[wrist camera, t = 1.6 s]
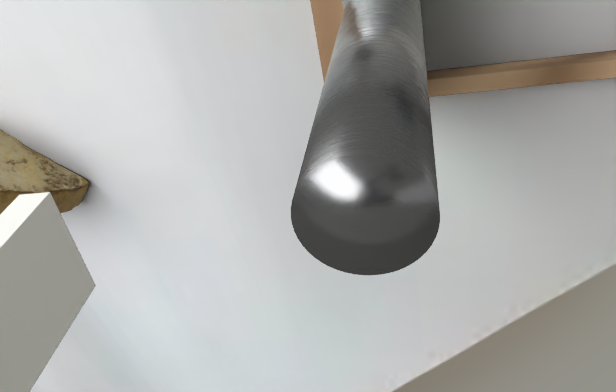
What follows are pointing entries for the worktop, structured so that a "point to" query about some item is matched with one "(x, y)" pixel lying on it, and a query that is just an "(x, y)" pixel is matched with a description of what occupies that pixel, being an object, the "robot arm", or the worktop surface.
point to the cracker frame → (477, 77)
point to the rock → (36, 176)
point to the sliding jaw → (371, 146)
